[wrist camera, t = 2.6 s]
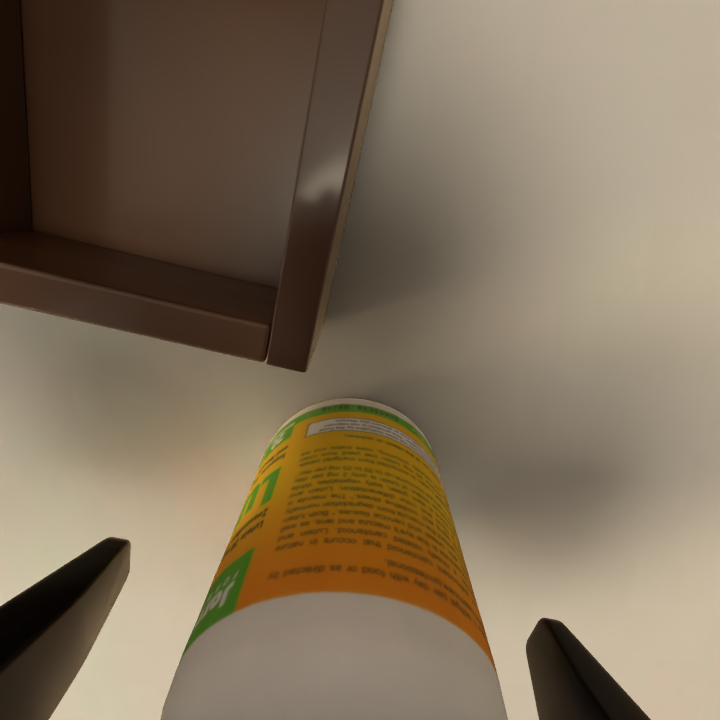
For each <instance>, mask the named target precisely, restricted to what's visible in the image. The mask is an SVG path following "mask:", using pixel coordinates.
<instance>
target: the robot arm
mask: <svg viewBox="0 0 720 720" xmlns="http://www.w3.org/2000/svg"><path fill="white" fill-rule="evenodd" d="M130 549H131V545H130V542H129V540H126V539H121V538H115V537H109V538H106V539H105V540H103V541H101V542H100V543H98V544H97V545H95V546H94V547H92V548H90V549H89V550H87V551H86V552H84V553H83V554H81V555H80V556H78V557H76V558H75V559H73V560H72V561H70V562H69V563H67V564H65V565H64V566H62V567H61V568H59V569H58V570H56V571H55V572H53V573H51V574H50V575H48V576H47V577H45V578H44V579H42V580H41V581H39V582H37V583H36V584H34V585H33V586H31V587H30V588H28V589H26V590H25V591H23V592H22V593H20V594H19V595H17V596H16V597H14V598H12V599H11V600H9V601H8V602H6V603H5V604H3V605H2V606H0V720H49V718H50V717H51V715H52V714H53V712H54V710H55V709H56V707H57V706H58V704H59V702H60V701H61V699H62V698H63V696H64V694H65V693H66V691H67V690H68V688H69V686H70V685H71V683H72V682H73V680H74V678H75V677H76V675H77V673H78V672H79V670H80V668H81V667H82V665H83V663H84V661H85V659H86V658H87V656H88V654H89V652H90V650H91V648H92V646H93V644H94V642H95V640H96V638H97V636H98V634H99V632H100V630H101V628H102V627H103V625H104V623H105V621H106V619H107V617H108V615H109V613H110V611H111V609H112V607H113V605H114V603H115V601H116V599H117V597H118V595H119V593H120V591H121V589H122V587H123V585H124V583H125V581H126V579H127V577H128V573H129V569H130ZM526 654H527V659H528V664H529V670H530V675H531V680H532V685H533V690H534V696H535V701H536V706H537V711H538V716H539V720H651V719H650V718H649V717H648V716H647V715H646V714H645V713H644V712H643V711H642V710H641V708H640V707H639V706H638V705H637V704H636V703H635V702H634V701H633V700H632V699H631V697H630V696H629V695H628V694H627V693H626V692H625V691H624V690H623V689H622V688H621V686H620V685H619V684H618V683H617V682H616V681H615V680H614V679H613V678H612V677H611V675H610V674H609V673H608V672H607V671H606V670H605V669H604V668H603V667H602V666H601V664H600V663H599V662H598V661H597V660H596V659H595V658H594V657H593V656H592V655H591V653H590V652H589V651H588V650H587V649H586V648H585V647H584V646H583V645H582V644H581V642H580V641H579V640H578V639H577V638H576V637H575V636H574V635H573V634H572V633H571V631H570V630H569V629H568V628H567V627H566V626H565V625H564V624H563V623H562V622H560V621H558V620H554V619H548V618H542V619H540V620H539V621H538V623H537V625H536V626H535V628H534V630H533V631H532V633H531V635H530V637H529V638H528V640H527V644H526Z"/></svg>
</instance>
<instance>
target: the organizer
mask: <svg viewBox="0 0 720 720" xmlns="http://www.w3.org/2000/svg"><path fill="white" fill-rule="evenodd" d="M393 2H394V0H0V303H2V304H6V305H11V306H15V307H20V308H24V309H28V310H33V311H37V312H42V313H46V314H51V315H55V316H59V317H64V318H68V319H73V320H77V321H82V322H86V323H90V324H95V325H99V326H104V327H108V328H113V329H117V330H121V331H126V332H130V333H135V334H139V335H143V336H148V337H152V338H157V339H161V340H166V341H170V342H174V343H179V344H183V345H188V346H192V347H197V348H201V349H205V350H210V351H214V352H219V353H223V354H228V355H232V356H236V357H241V358H245V359H250V360H254V361H259V362H264V361H265V360H266V364H268V365H272V366H277V367H281V368H286V369H290V370H295V371H299V372H306V371H307V368H308V365H309V363H310V360H311V357H312V354H313V351H314V349H315V346H316V343H317V340H318V338H319V335H320V332H321V329H322V326H323V324H324V319H325V315H326V310H327V306H328V301H329V296H330V292H331V287H332V283H333V278H334V273H335V269H336V264H337V260H338V255H339V250H340V246H341V241H342V236H343V232H344V227H345V223H346V218H347V213H348V209H349V204H350V200H351V195H352V190H353V186H354V181H355V177H356V172H357V167H358V163H359V158H360V154H361V149H362V144H363V140H364V135H365V131H366V126H367V121H368V117H369V112H370V108H371V103H372V98H373V94H374V89H375V84H376V80H377V75H378V71H379V66H380V61H381V57H382V52H383V48H384V43H385V38H386V34H387V29H388V25H389V20H390V15H391V11H392V6H393Z"/></svg>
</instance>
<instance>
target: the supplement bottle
mask: <svg viewBox="0 0 720 720" xmlns="http://www.w3.org/2000/svg"><path fill="white" fill-rule="evenodd" d="M161 720H508V718H507V713H506V709H505V705H504V701H503V696H502V692H501V688H500V683H499V679H498V676H497V672H496V668H495V664H494V661H493V657H492V654H491V651H490V647H489V644H488V640H487V637H486V633H485V630H484V626H483V623H482V619H481V616H480V613H479V610H478V606H477V603H476V599H475V596H474V592H473V589H472V585H471V582H470V578H469V575H468V571H467V568H466V564H465V561H464V557H463V554H462V550H461V547H460V543H459V540H458V536H457V532H456V529H455V525H454V522H453V518H452V515H451V512H450V508H449V505H448V501H447V497H446V494H445V490H444V486H443V483H442V479H441V476H440V472H439V469H438V465H437V462H436V459H435V456H434V453H433V451H432V448H431V446H430V444H429V442H428V440H427V439H426V437H425V436H424V434H423V433H422V431H421V430H420V429H419V428H418V427H417V426H416V425H415V424H414V423H413V422H412V421H411V420H410V419H409V418H408V417H406V416H405V415H403V414H402V413H400V412H399V411H397V410H395V409H393V408H391V407H389V406H386V405H384V404H381V403H377V402H374V401H370V400H365V399H357V398H340V399H333V400H328V401H323V402H320V403H316V404H314V405H311V406H309V407H307V408H305V409H303V410H301V411H299V412H298V413H296V414H295V415H293V416H292V417H291V418H289V419H288V420H287V421H286V422H285V423H284V424H283V425H282V426H281V427H280V429H279V430H278V431H277V432H276V434H275V435H274V436H273V438H272V440H271V442H270V443H269V446H268V448H267V450H266V452H265V454H264V456H263V459H262V461H261V464H260V466H259V469H258V471H257V474H256V477H255V479H254V481H253V484H252V486H251V489H250V491H249V494H248V496H247V498H246V501H245V504H244V506H243V509H242V511H241V514H240V516H239V519H238V521H237V524H236V526H235V528H234V531H233V533H232V536H231V538H230V541H229V543H228V546H227V548H226V551H225V553H224V555H223V558H222V560H221V563H220V565H219V567H218V570H217V572H216V575H215V577H214V580H213V582H212V585H211V587H210V589H209V592H208V594H207V597H206V599H205V602H204V604H203V607H202V609H201V612H200V614H199V617H198V619H197V621H196V624H195V626H194V628H193V631H192V633H191V636H190V638H189V640H188V643H187V645H186V647H185V650H184V652H183V655H182V657H181V660H180V662H179V665H178V667H177V670H176V673H175V676H174V678H173V681H172V684H171V687H170V690H169V692H168V695H167V698H166V701H165V704H164V707H163V711H162V716H161Z"/></svg>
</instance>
